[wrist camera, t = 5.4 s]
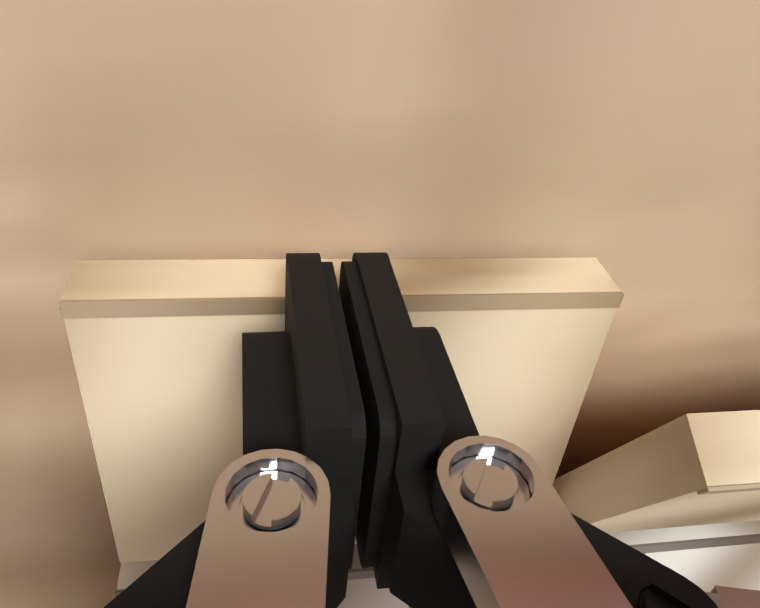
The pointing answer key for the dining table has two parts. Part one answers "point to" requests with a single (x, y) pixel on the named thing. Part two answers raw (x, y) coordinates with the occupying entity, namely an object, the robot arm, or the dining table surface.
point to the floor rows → (666, 545)
